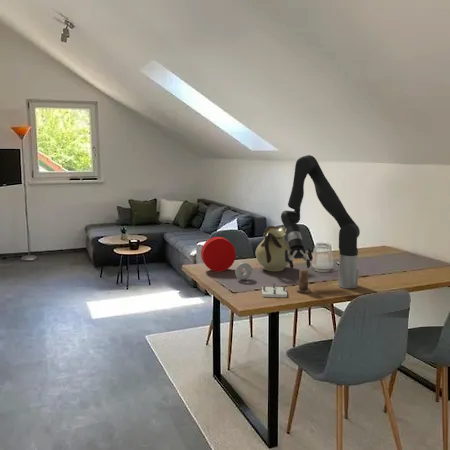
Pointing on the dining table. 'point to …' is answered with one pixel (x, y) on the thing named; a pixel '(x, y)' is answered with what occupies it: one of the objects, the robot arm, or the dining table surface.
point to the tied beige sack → (273, 249)
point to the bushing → (303, 282)
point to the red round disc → (218, 254)
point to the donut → (247, 273)
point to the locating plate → (274, 291)
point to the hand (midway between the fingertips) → (300, 267)
